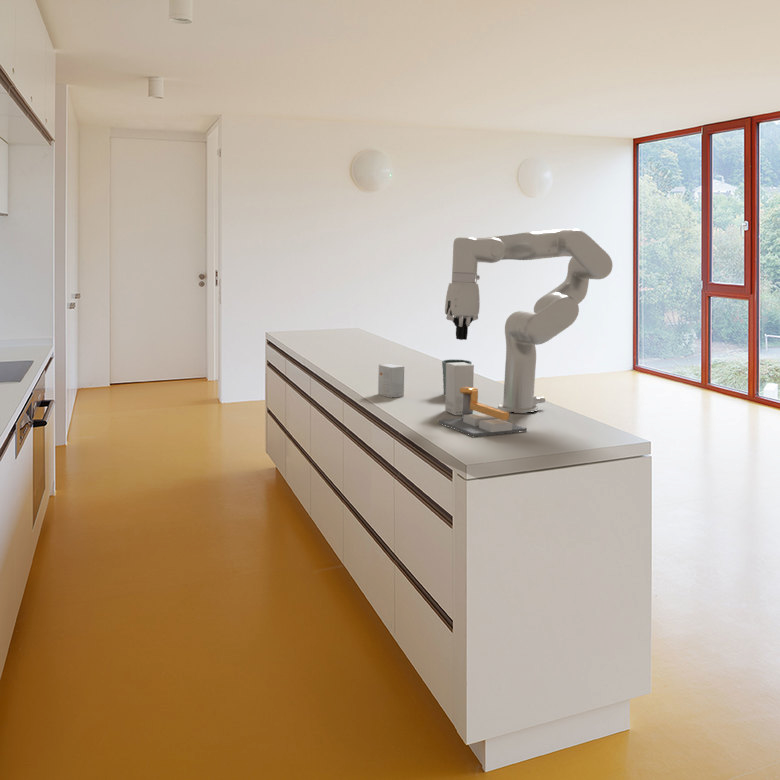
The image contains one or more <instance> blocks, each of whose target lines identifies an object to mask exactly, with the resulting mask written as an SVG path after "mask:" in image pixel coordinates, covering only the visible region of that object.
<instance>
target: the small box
mask: <svg viewBox="0 0 780 780" xmlns="http://www.w3.org/2000/svg"><path fill="white" fill-rule="evenodd" d="M377 383H378V387H377V391H378V392H377V394H378V395H379V394H380V395H381V396H383V395H384V396H383V397H386V396H387V398H391V399H392V397H394V398H400V397H401V398H402V396H403V397H405V366H404V365H403V366H402V365H399V364H398V365H397V364H394V363H386V364H378V382H377Z"/></svg>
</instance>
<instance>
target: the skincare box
mask: <svg viewBox="0 0 780 780" xmlns="http://www.w3.org/2000/svg"><path fill="white" fill-rule="evenodd" d="M474 367H475V365H474V364H472V363H471V364H468V363H465V362H456V363H446V396H445V403H444V405H445V406H444V407H445V408H444V410H446V411H445V412H447V411H448V412H447V413H449V412H450V414H451V413H452V414H451V415H453V414H454V416H462V412H463V393H460V388H461V387H474V370H475V369H474Z"/></svg>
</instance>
